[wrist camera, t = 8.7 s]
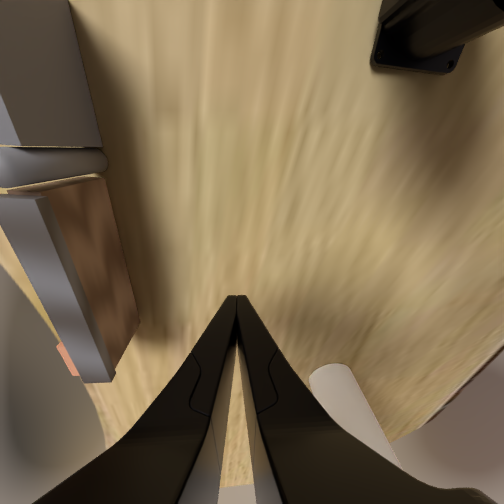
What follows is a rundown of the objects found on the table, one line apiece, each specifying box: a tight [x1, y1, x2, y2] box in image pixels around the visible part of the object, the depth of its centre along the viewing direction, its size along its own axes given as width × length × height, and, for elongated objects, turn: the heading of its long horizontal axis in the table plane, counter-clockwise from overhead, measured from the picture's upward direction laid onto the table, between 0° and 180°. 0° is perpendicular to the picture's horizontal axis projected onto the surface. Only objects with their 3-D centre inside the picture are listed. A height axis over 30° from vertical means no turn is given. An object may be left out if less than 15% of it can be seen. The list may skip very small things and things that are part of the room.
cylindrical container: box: [309, 363, 404, 471], centre depth 22 cm, size 7×7×25 cm
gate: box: [0, 177, 140, 383], centre depth 17 cm, size 16×2×7 cm, turn 176°
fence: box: [0, 0, 108, 376], centre depth 15 cm, size 4×27×8 cm, turn 176°
